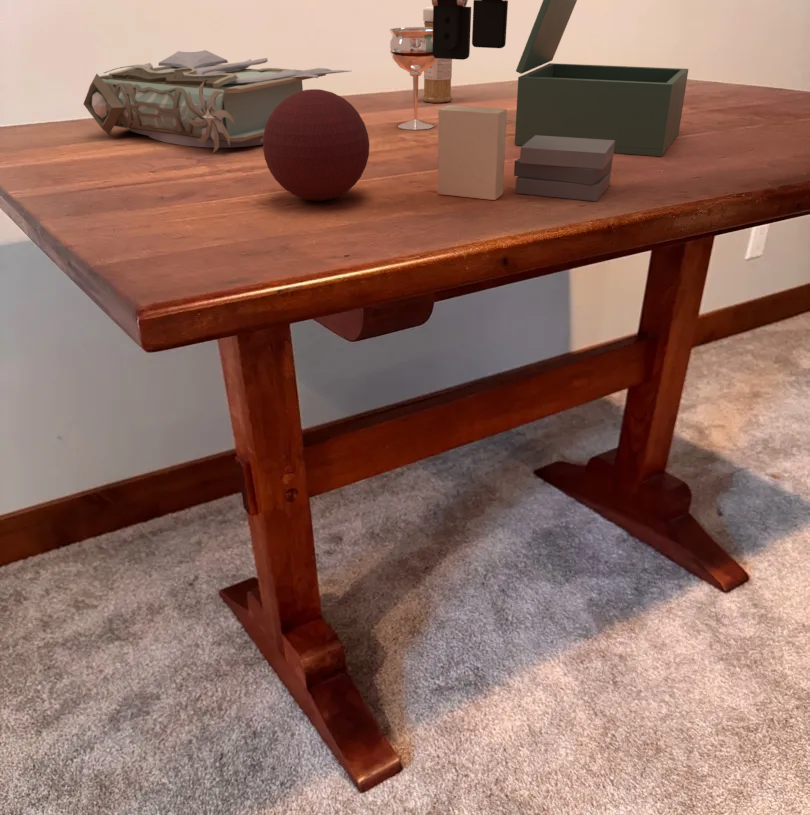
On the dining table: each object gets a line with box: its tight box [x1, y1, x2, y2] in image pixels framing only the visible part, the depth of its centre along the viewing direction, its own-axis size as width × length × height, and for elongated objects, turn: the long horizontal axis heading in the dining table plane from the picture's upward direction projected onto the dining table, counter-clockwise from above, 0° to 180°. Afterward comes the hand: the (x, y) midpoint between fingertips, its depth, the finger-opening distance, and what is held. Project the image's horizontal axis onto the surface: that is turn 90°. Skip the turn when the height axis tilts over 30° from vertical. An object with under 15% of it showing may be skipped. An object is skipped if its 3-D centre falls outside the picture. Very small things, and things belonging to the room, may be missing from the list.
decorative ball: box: [262, 88, 370, 202], centre depth 75 cm, size 10×10×10 cm
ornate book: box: [83, 49, 351, 154], centre depth 105 cm, size 23×10×30 cm
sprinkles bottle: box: [422, 5, 453, 104], centre depth 123 cm, size 5×5×14 cm
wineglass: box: [389, 26, 438, 131], centre depth 106 cm, size 7×7×12 cm
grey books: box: [513, 135, 615, 202], centre depth 79 cm, size 9×7×4 cm
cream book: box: [437, 104, 508, 201], centre depth 77 cm, size 6×2×8 cm, turn 66°
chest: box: [514, 62, 689, 157], centre depth 98 cm, size 18×14×8 cm
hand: (470, 52), depth 72 cm, fingers open, 9 cm apart
